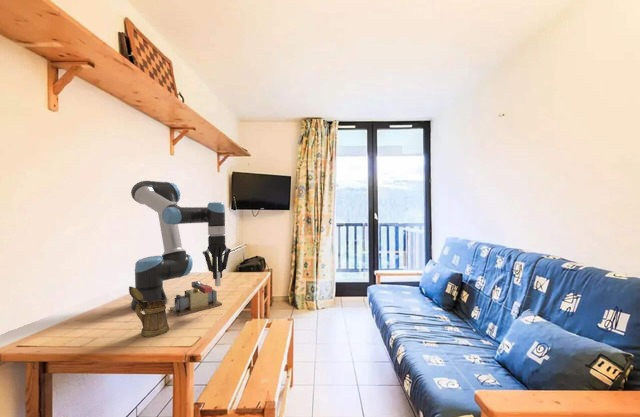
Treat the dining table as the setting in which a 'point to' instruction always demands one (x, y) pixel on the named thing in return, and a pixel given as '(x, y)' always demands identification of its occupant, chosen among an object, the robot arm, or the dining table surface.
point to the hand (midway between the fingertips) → (217, 285)
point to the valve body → (194, 302)
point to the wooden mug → (150, 314)
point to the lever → (202, 287)
